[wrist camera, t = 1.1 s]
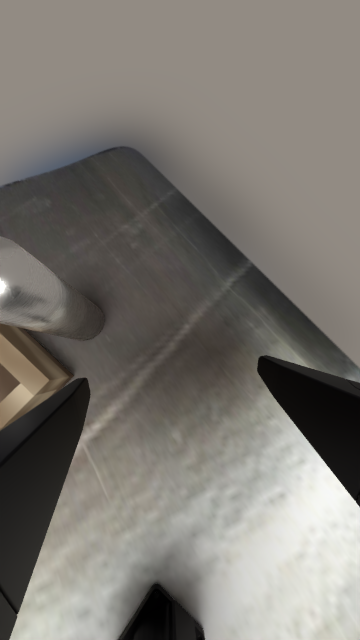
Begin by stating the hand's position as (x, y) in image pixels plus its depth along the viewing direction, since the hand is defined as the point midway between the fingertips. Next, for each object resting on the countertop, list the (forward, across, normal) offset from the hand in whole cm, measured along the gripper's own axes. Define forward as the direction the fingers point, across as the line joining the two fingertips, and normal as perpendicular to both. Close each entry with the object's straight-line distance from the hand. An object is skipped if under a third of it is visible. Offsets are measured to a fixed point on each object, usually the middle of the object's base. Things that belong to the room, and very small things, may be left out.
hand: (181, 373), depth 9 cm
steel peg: (+16, +10, +2) cm, 19 cm away
